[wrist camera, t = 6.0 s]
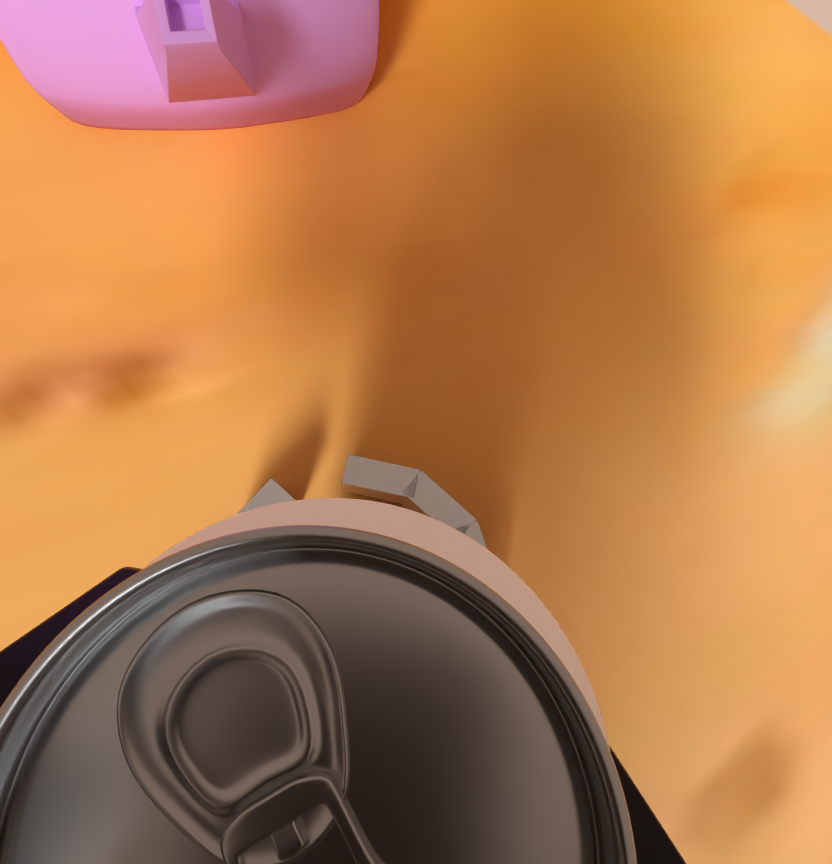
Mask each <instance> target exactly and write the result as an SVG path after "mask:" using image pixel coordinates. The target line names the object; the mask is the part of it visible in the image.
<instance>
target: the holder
mask: <svg viewBox="0 0 832 864" xmlns="http://www.w3.org/2000/svg"><path fill="white" fill-rule="evenodd" d="M419 470H420V469H415V468H411V467H406V466H401V465H397V464H392V463H387V462H382V461H378V460H373V459H368V458H364V457H359V456H354V455H350V454H348V456H347V461H346V465H345V470H344V474H343V478H342V491H343V492H348V493H353V494H358V495H363V496H367V497H372V498H377V499H382V500H387V501H391V502H396V503H399V504H401V505H402V506H403V507H404V508H406V509H409V510H412V511H415V512H418V513H421V514H423V515H426V516H429V517H431V518H433V519H436V520H438V521H440V522H442V523H444V524H446V525H448V526H450V527H452V528H454V529H456V530H458V531H460V532H461V533H463V534H465V535H467V536H468V537H470V538H471V539H473V540H475V541H476V542H477V543H479V544H480V545H482V546H483V547H485V548H486V549H487V546H486V544H485V541H484V538H483V535H482V532H481V529H480V527H479V524H478V521H475V520H476V518H474V517H473V516H472V515H471V514H470V513H469V512H468V511H467V510H465V509H464V508H463V507H462V506H461V505H460V504H459V503H458V502H457V501H455V500H454V499H453V498H452V497H451V496H450V495H449V494H448V493H446V492H445V491H444V490H443V489H442V488H441V487H440V486H439V485H437V484H436V483H435V482H434V481H433V480H432V479H431V478H430V477H428V476H427V475H426V474H425V473H424V472H423V471H422V470H421V471H420V472H419ZM288 501H295V499H294V498H293V497H292V496H291V495H290V494H289V493H288V492H286V491H285V490H284V489H283V488H282V487H281V486H280V485H279V484H277V483H276V482H275V481H274V480H273V479H272V478H271V479H270V480H269V481H268V482H267V483H266V484H265V485H264V486H263V487H262V488H261V489H260V490H259V491H258V493H257V494H256V495H255V496H254V497H253V498H252V499H251V500H250V501H249V502H248V503H247V504H246V505H245V506H244V507H243V508H242V509H241V510H240V511H239V512H238V513H237V514H240V513H243V512H246V511H249V510H252V509H256V508H259V507H263V506H267V505H272V504H276V503H282V502H288ZM237 514H236V515H237ZM487 550H488V549H487Z"/></svg>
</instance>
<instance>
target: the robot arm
mask: <svg viewBox="0 0 832 864" xmlns="http://www.w3.org/2000/svg"><path fill="white" fill-rule="evenodd" d="M141 570H142V569H139V568H133V567H124V568H121V569H119V570H118V571H116V572H115V573H113V574H112V575H110V576H109V577H108V578H106V579H105V580H103V581H102V582H100V583H99V584H97V585H96V586H95V587H93V588H92V589H90V590H89V591H87V592H86V593H84V594H83V595H82V596H80V597H79V598H77V599H76V600H74V601H73V602H71V603H70V604H69V605H67V606H66V607H64V608H63V609H61V610H60V611H58V612H57V613H56V614H54V615H53V616H51V617H50V618H48V619H47V620H45V621H44V622H43V623H41V624H40V625H38V626H37V627H35V628H34V629H32V630H31V631H29V632H28V633H27V634H25V635H24V636H22V637H21V638H19V639H18V640H16V641H15V642H14V643H12V644H11V645H9V646H8V647H6V648H5V649H3V650H2V651H1V652H0V708H1V707H2V705H3V704H4V702H5V701H6V699H7V698H8V696H9V694H10V693H11V691H12V690H13V689H14V687H15V686H16V685H17V683H18V682H19V680H20V679H21V678H22V676H23V675H24V674H25V672H26V671H27V670H28V669H29V667H30V666H31V665H32V664H33V662H34V661H35V660H36V659H37V658H38V656H39V655H40V654H41V653H42V652H43V651H44V649H45V648H46V647H47V646H48V645H49V644H50V643H51V642H52V641H53V640H54V639H55V638H56V636H57V635H59V634H60V633H61V632H62V631H63V630H64V629H65V628H66V627H67V626H68V625H69V624H70V623H71V622H72V621H73V620H74V619H75V618H76V617H77V616H79V615H80V614H81V613H82V612H83V611H84V610H85V609H87V608H88V607H89V606H90V605H92V604H93V603H94V602H95V601H96V600H98V599H99V598H100V597H102V596H103V595H104V594H106V593H107V592H108V591H110V590H111V589H113V588H114V587H116V586H117V585H118V584H120V583H121V582H123V581H124V580H126V579H128V578H129V577H131V576H132V575H134V574H136V573H137V572H139V571H141ZM609 747H610V746H609ZM610 752H611V755H612V757H613V760H614V763H615V766H616V769H617V772H618V775H619V778H620V782H621V785H622V789H623V792H624V796H625V799H626V804H627V808H628V812H629V816H630V821H631V827H632V832H633V838H634V844H635V851H636V859H637V864H686V862H685V861H684V859H683V858H682V856H681V855H680V853H679V852H678V850H677V849H676V847H675V846H674V844H673V842H672V841H671V839H670V838H669V836H668V835H667V833H666V832H665V830H664V829H663V827H662V826H661V824H660V822H659V821H658V819H657V818H656V816H655V815H654V813H653V812H652V810H651V809H650V807H649V806H648V804H647V802H646V801H645V799H644V798H643V796H642V795H641V793H640V792H639V790H638V789H637V787H636V786H635V784H634V782H633V781H632V779H631V778H630V776H629V775H628V773H627V772H626V770H625V769H624V767H623V766H622V764H621V762H620V761H619V759H618V758H617V756H616V755H615V753H614V752H613V750H612V749H611V747H610Z"/></svg>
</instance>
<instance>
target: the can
mask: <svg viewBox="0 0 832 864" xmlns="http://www.w3.org/2000/svg"><path fill="white" fill-rule="evenodd" d="M0 864H637V859H636V851H635V844H634V838H633V832H632V827H631V821H630V816H629V812H628V808H627V804H626V799H625V796H624V792H623V789H622V785H621V782H620V778H619V775H618V772H617V769H616V766H615V763H614V760H613V757H612V755H611V752H610V747H609V742H608V738H607V734H606V730H605V726H604V722H603V719H602V715H601V712H600V709H599V706H598V703H597V700H596V697H595V695H594V692H593V689H592V687H591V684H590V682H589V680H588V677H587V675H586V673H585V670H584V668H583V666H582V664H581V662H580V660H579V658H578V656H577V654H576V652H575V651H574V649H573V647H572V645H571V643H570V642H569V640H568V638H567V637H566V635H565V633H564V632H563V630H562V629H561V627H560V626H559V624H558V623H557V621H556V620H555V618H554V617H553V616H552V614H551V613H550V612H549V610H548V609H547V608H546V606H545V605H544V604H543V603H542V602H541V600H540V599H539V598H538V597H537V596H536V594H535V593H534V592H533V591H532V590H531V589H530V588H529V587H528V586H527V584H526V583H525V582H524V581H523V580H522V579H521V578H520V577H519V576H518V575H517V574H516V573H515V572H514V571H513V570H511V569H510V568H509V567H508V566H507V565H506V564H505V563H504V562H502V561H501V560H500V559H499V558H498V557H497V556H495V555H494V554H493V553H491V552H490V551H489V550H487V549H486V548H485V547H483V546H482V545H480V544H479V543H477V542H476V541H475V540H473V539H471V538H470V537H468V536H467V535H465V534H463V533H461V532H460V531H458V530H456V529H454V528H452V527H450V526H448V525H446V524H444V523H442V522H440V521H438V520H436V519H433V518H431V517H429V516H426V515H423V514H421V513H418V512H415V511H412V510H409V509H406V508H402V507H398V506H395V505H391V504H386V503H381V502H375V501H369V500H361V499H350V498H314V499H303V500H295V501H288V502H282V503H276V504H272V505H267V506H263V507H259V508H256V509H252V510H249V511H246V512H243V513H240V514H237V515H234V516H231V517H229V518H226V519H224V520H221V521H219V522H217V523H215V524H212V525H210V526H208V527H206V528H204V529H202V530H200V531H198V532H196V533H194V534H193V535H191V536H189V537H187V538H186V539H184V540H182V541H181V542H179V543H178V544H176V545H174V546H173V547H171V548H170V549H168V550H167V551H166V552H164V553H163V554H161V555H160V556H159V557H157V558H156V559H155V560H153V561H152V562H151V563H149V564H148V565H147V566H146V567H145V568H143V569H142V570H141V571H139V572H137V573H136V574H134V575H132V576H131V577H129V578H128V579H126V580H124V581H123V582H121V583H120V584H118V585H117V586H116V587H114V588H113V589H111V590H110V591H108V592H107V593H106V594H104V595H103V596H102V597H100V598H99V599H98V600H96V601H95V602H94V603H93V604H92V605H90V606H89V607H88V608H87V609H85V610H84V611H83V612H82V613H81V614H80V615H79V616H77V617H76V618H75V619H74V620H73V621H72V622H71V623H70V624H69V625H68V626H67V627H66V628H65V629H64V630H63V631H62V632H61V633H60V634H59V635H57V636H56V638H55V639H54V640H53V641H52V642H51V643H50V644H49V645H48V646H47V647H46V648H45V649H44V651H43V652H42V653H41V654H40V655H39V656H38V658H37V659H36V660H35V661H34V662H33V664H32V665H31V666H30V667H29V669H28V670H27V671H26V672H25V674H24V675H23V676H22V678H21V679H20V680H19V682H18V683H17V685H16V686H15V687H14V689H13V690H12V691H11V693H10V694H9V696H8V698H7V699H6V701H5V702H4V704H3V705H2V707H1V708H0Z"/></svg>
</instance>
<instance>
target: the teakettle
mask: <svg viewBox="0 0 832 864" xmlns="http://www.w3.org/2000/svg"><path fill="white" fill-rule="evenodd" d="M378 34H379V0H0V40H1V42H2V43H3V45H4V47H5V48H6V50H7V52H8V53H9V55H10V57H11V58H12V60H13V61H14V63H15V64H16V66H17V67H18V69H19V70H20V72H21V73H22V75H23V76H24V78H25V79H26V81H27V82H28V83H29V84H30V85H31V86H32V87H33V89H34V90H35V91H36V92H37V93H38V94H39V95H40V96H42V97H43V98H44V99H45V100H46V101H47V102H49V103H50V104H51V105H52V106H53V107H54V108H56V109H57V110H58V111H59V112H60V113H62V114H63V115H64V116H66V117H67V118H69V119H70V120H71V121H73V122H76V123H78V124H81V125H85V126H91V127H97V128H107V129H123V130H215V129H230V128H241V127H250V126H257V125H264V124H271V123H277V122H284V121H290V120H296V119H302V118H308V117H314V116H319V115H324V114H328V113H333V112H337V111H340V110H343V109H346V108H349V107H352V106H354V105H355V104H357V103H358V102H360V100H361V99H362V98H363V96H364V94H365V92H366V90H367V88H368V86H369V84H370V81H371V79H372V76H373V74H374V71H375V67H376V62H377V51H378Z"/></svg>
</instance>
